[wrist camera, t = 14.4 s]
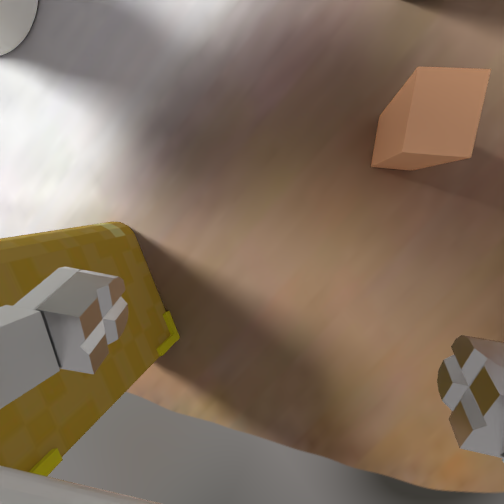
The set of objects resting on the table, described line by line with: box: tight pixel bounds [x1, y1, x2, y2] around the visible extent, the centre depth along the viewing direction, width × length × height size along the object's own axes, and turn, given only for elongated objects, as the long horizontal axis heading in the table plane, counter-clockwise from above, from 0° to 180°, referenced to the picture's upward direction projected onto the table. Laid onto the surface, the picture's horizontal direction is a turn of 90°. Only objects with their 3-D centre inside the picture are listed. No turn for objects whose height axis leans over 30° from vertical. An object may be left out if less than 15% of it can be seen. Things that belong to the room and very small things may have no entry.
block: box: [371, 67, 491, 171], centre depth 27 cm, size 5×4×14 cm
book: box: [0, 222, 180, 476], centre depth 31 cm, size 17×7×25 cm, turn 20°
